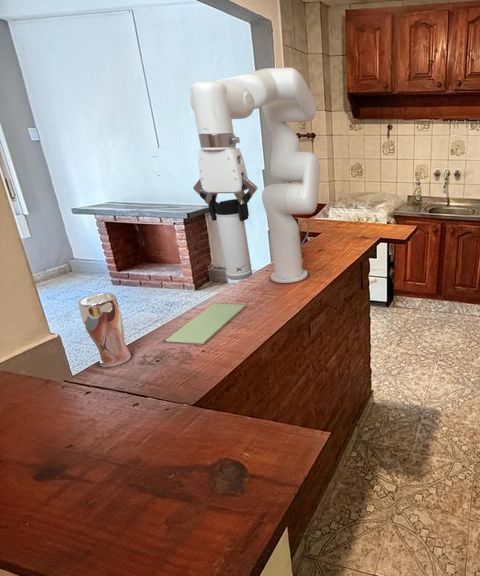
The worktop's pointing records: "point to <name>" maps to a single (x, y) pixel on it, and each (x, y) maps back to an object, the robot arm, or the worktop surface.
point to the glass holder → (300, 230)
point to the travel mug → (233, 240)
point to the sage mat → (206, 323)
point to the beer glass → (105, 328)
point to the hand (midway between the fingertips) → (230, 219)
